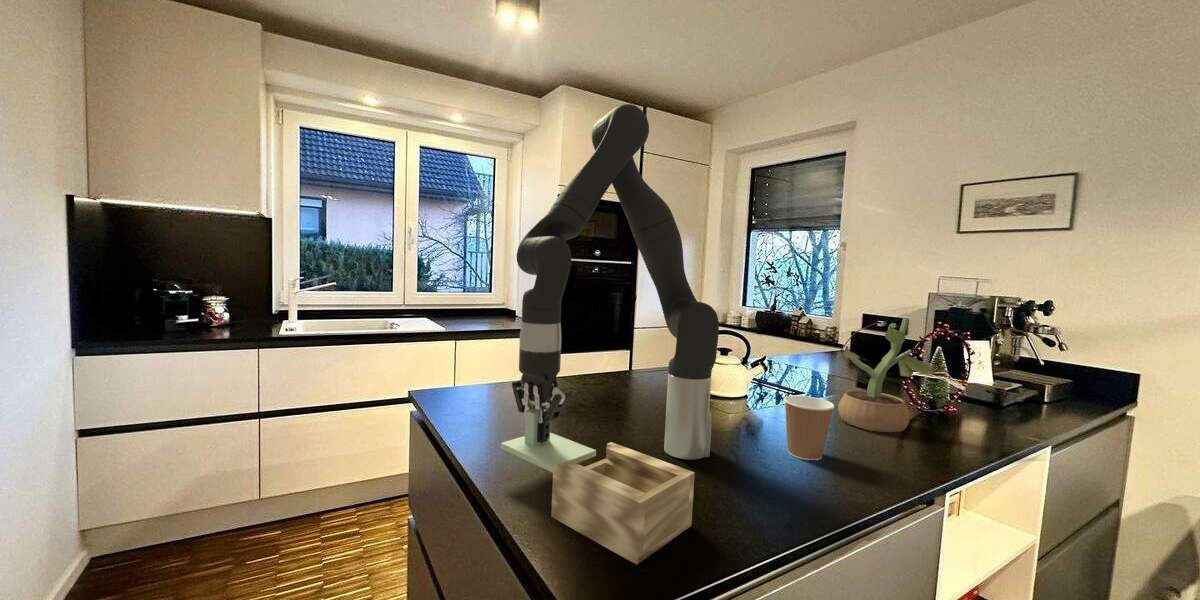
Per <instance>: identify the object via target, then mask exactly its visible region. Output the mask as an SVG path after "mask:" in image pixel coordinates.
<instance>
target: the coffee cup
mask: <svg viewBox="0 0 1200 600" xmlns="http://www.w3.org/2000/svg"><path fill="white" fill-rule="evenodd" d="M783 402H784V405H785V406H784V407H785V425H786V428H785V429H786V444H787V445H786V446H787V451H788V454H789V455H791V457H794V458H797V459H800V460H803V461H809V460H816V461H819V459H820V460H821V459H822V458H823V454H824V452H825V448H826V443H827V438H828V432H829V428H830V424H831V419H832V414H833V409H834V408H835V404H834V403H833V402H831V401H828V400H826V399H824V398H823V399H822V398H819V397H813V396H806V395H787V396H785V397H784V398H783Z"/></svg>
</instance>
